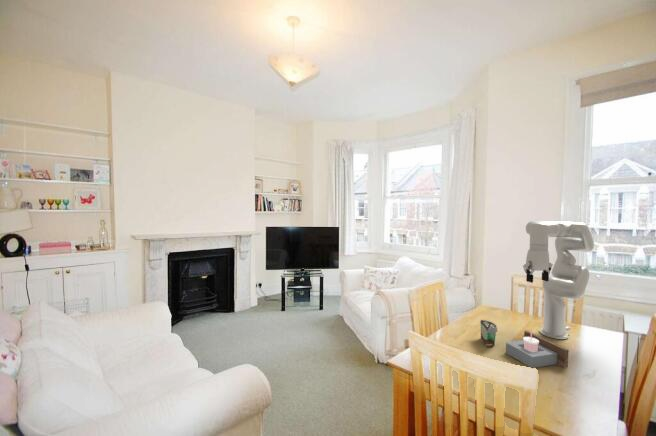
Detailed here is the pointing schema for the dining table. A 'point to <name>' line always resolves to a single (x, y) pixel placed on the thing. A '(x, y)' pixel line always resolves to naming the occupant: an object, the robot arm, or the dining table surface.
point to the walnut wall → (552, 348)
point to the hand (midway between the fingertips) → (537, 281)
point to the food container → (488, 333)
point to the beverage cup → (531, 343)
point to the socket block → (531, 354)
